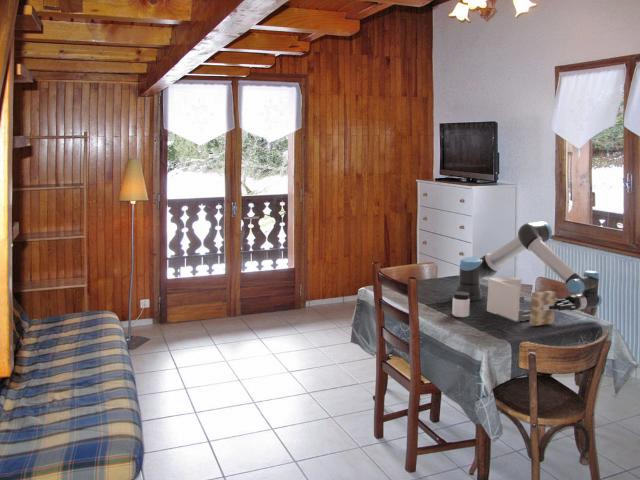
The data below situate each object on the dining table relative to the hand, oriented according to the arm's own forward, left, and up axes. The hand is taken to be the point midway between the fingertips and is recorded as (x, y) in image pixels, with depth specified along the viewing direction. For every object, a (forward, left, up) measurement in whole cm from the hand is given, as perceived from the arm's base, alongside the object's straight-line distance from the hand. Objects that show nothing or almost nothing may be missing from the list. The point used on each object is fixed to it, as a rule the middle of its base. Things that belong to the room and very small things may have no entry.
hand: (540, 306), depth 319 cm
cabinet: (-8, -19, -10) cm, 23 cm away
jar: (+13, -38, -10) cm, 41 cm away
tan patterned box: (-2, +1, -9) cm, 9 cm away
